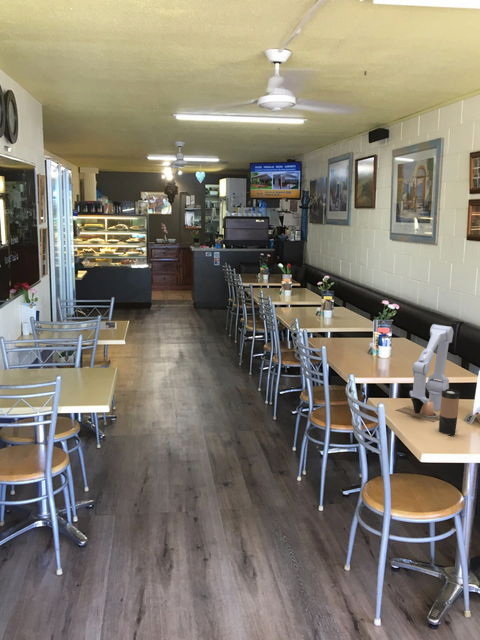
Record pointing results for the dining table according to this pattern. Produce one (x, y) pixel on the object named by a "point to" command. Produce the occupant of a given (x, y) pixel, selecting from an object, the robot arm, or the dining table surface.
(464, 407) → the dining table surface
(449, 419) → the travel mug
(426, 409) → the cylinder with stick handle
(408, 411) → the board
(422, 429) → the dining table surface
